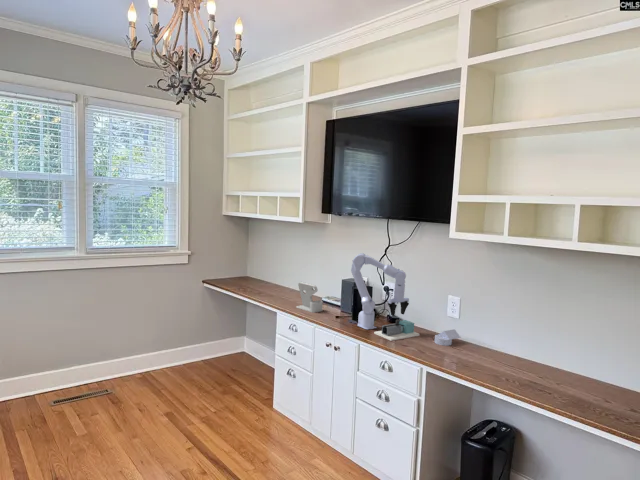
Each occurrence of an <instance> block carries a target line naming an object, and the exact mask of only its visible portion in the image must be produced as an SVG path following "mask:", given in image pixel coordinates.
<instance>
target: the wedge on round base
mask: <svg viewBox="0 0 640 480" xmlns="http://www.w3.org/2000/svg"><path fill="white" fill-rule="evenodd" d="M460 338H461V336H460V334H459V333H458V331H457V330H456V328H455V329H448V330H443V331H441V332H440V333H438V334H435V335H434V343H435V344H436V345H438V346H445V347H448V346H451V345H453V344H452V342H453V341H452V340H456V339H460Z"/></svg>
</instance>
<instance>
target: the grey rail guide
mask: <svg viewBox="0 0 640 480" xmlns="http://www.w3.org/2000/svg"><path fill="white" fill-rule="evenodd" d="M381 331H382V334H383V335H386V336H392V335H397V334H401V325H396V322H395V323H389V324H383V325H382V326H381Z"/></svg>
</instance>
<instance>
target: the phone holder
mask: <svg viewBox="0 0 640 480" xmlns="http://www.w3.org/2000/svg"><path fill="white" fill-rule="evenodd" d="M297 285H298V290H299V293H300V298H301V303H302V304H300V305H296V306H295V307H296V308H297V309H300V310H303V311H306V312H309V313H320V312H323V311H324V309H323V305H324V304H323V303H324V301H322V300H313V297H312V296H313V295H315V294H316V293H317V292H318V287H317V286H316V285H315V284H312V283H311V284H310V283H306V282H302V281H300V282H298V283H297Z"/></svg>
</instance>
